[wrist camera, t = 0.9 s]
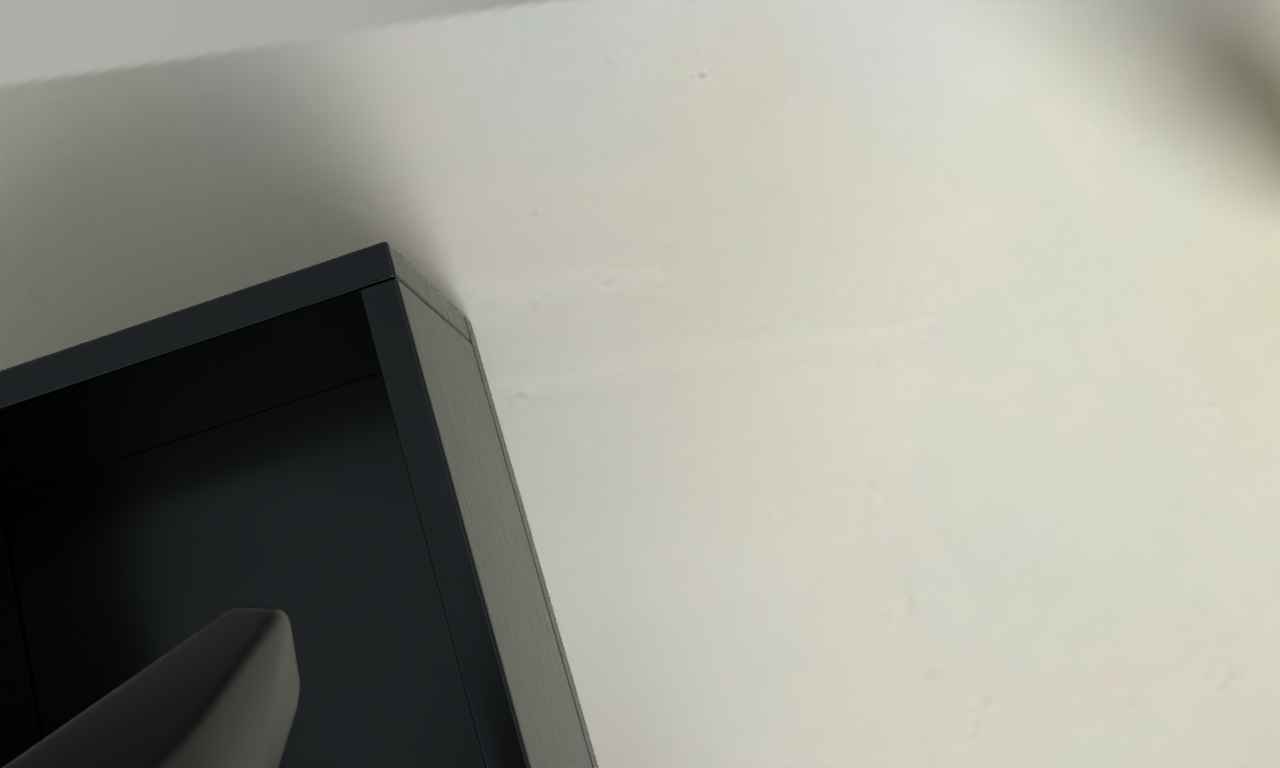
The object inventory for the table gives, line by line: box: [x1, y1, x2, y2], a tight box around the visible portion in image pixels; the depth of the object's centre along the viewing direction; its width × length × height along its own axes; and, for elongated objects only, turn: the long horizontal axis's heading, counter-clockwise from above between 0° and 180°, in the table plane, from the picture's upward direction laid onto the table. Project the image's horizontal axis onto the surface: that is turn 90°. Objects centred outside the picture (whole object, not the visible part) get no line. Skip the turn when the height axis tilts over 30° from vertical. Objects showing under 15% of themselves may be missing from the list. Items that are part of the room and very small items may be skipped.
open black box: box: [0, 242, 598, 768], centre depth 19 cm, size 12×12×6 cm
